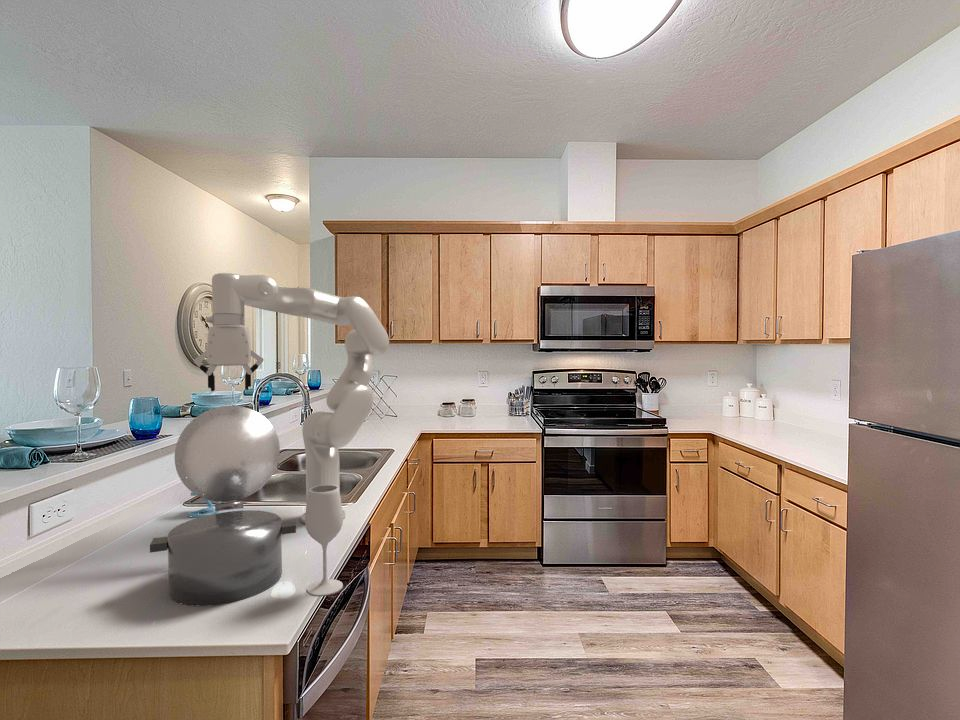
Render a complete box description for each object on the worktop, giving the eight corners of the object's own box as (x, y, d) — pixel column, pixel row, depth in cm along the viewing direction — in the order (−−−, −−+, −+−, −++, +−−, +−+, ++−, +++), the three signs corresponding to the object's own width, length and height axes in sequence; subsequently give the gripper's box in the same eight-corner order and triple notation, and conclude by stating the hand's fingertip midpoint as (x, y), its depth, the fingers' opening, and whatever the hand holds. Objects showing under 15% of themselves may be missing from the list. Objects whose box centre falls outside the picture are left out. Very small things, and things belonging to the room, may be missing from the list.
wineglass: (305, 598, 105) (303, 494, 105) (307, 582, 113) (305, 485, 112) (344, 593, 107) (342, 491, 107) (343, 578, 115) (342, 482, 114)
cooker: (161, 572, 118) (160, 519, 118) (292, 552, 129) (292, 504, 129) (142, 618, 98) (140, 554, 98) (299, 590, 109) (298, 533, 109)
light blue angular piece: (227, 509, 165) (227, 471, 164) (210, 518, 156) (209, 478, 156) (205, 508, 166) (204, 471, 166) (187, 517, 158) (186, 477, 157)
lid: (173, 516, 119) (175, 515, 123) (281, 503, 128) (280, 503, 132) (175, 407, 124) (177, 409, 128) (278, 403, 133) (278, 405, 137)
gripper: (188, 320, 128) (190, 392, 129) (265, 321, 135) (266, 390, 136) (192, 322, 135) (193, 390, 136) (264, 323, 142) (266, 388, 143)
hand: (230, 389), depth 136 cm, fingers open, 7 cm apart
